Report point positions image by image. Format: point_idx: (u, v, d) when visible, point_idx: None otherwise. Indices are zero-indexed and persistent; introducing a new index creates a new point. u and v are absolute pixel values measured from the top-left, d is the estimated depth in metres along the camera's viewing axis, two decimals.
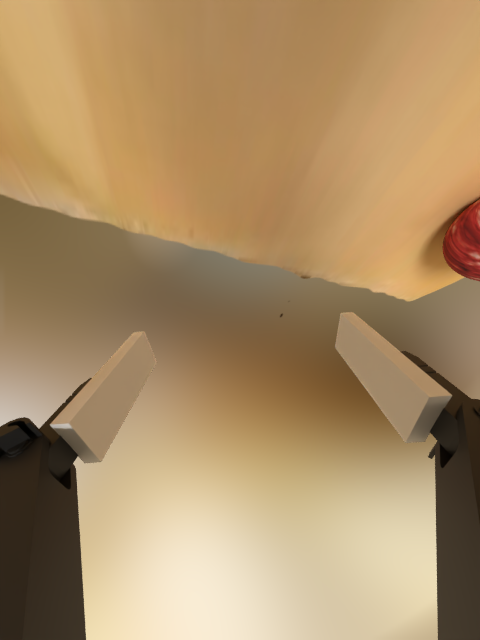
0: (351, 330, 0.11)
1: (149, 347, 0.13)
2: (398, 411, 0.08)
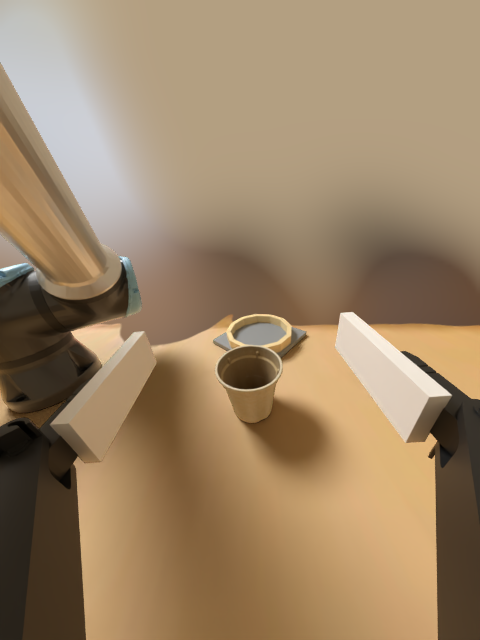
0: (351, 330, 0.11)
1: (149, 347, 0.13)
2: (398, 411, 0.08)
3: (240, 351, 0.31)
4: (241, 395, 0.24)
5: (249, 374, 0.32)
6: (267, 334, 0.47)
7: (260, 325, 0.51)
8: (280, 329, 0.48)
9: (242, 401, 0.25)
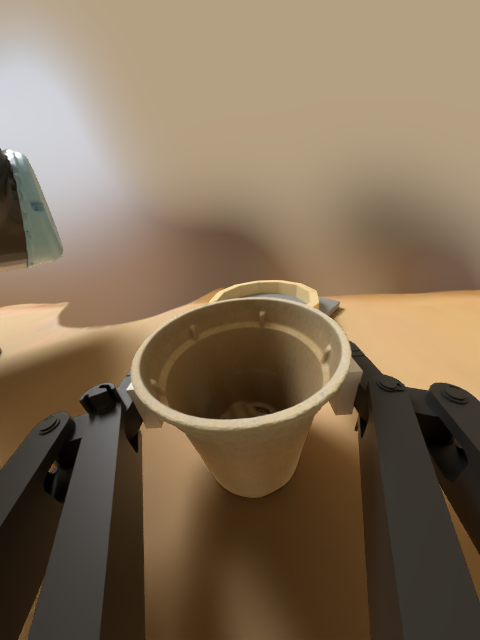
0: None
1: None
2: None
3: (223, 312, 0.13)
4: (207, 438, 0.06)
5: (244, 366, 0.14)
6: None
7: (264, 296, 0.33)
8: (297, 300, 0.30)
9: (218, 453, 0.07)
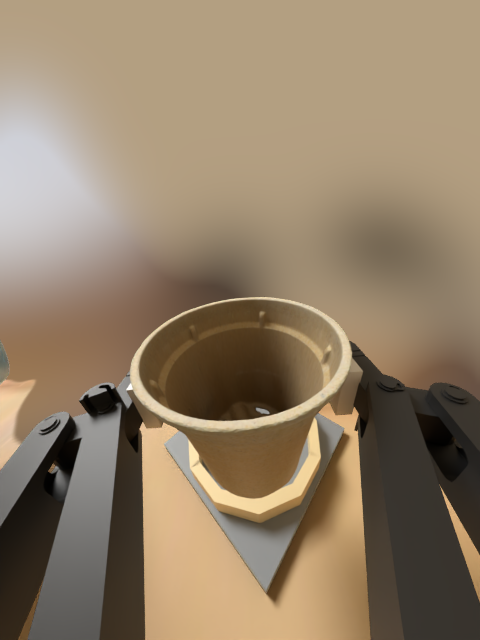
0: None
1: None
2: None
3: (223, 312, 0.13)
4: (206, 439, 0.06)
5: (244, 367, 0.14)
6: None
7: None
8: None
9: (217, 454, 0.07)
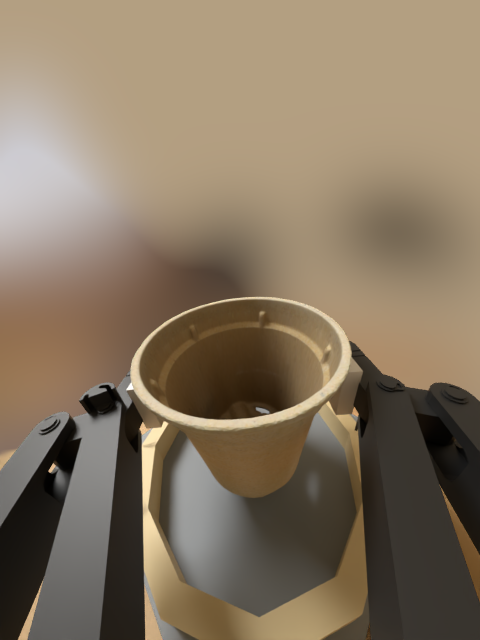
0: None
1: None
2: None
3: (223, 312, 0.13)
4: (207, 438, 0.06)
5: (244, 367, 0.14)
6: None
7: None
8: (319, 425, 0.16)
9: (217, 453, 0.07)
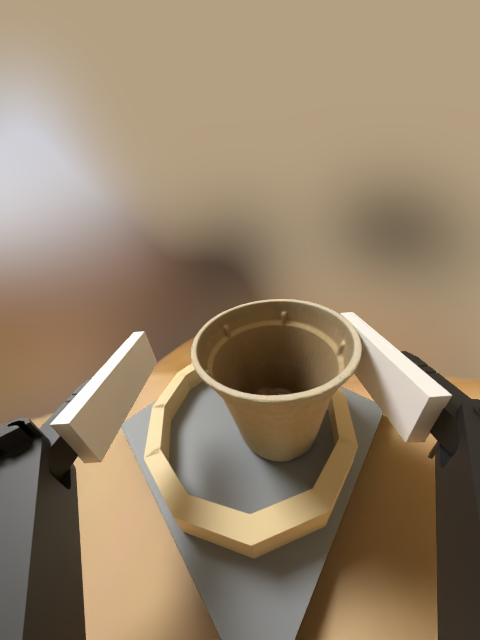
0: None
1: (149, 347, 0.13)
2: (398, 411, 0.08)
3: (250, 312, 0.16)
4: (255, 410, 0.09)
5: (268, 358, 0.17)
6: None
7: None
8: None
9: (259, 423, 0.10)
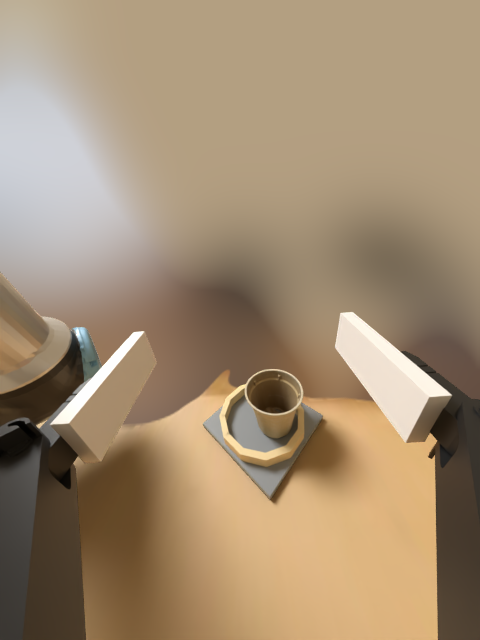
0: (351, 330, 0.11)
1: (149, 347, 0.13)
2: (398, 411, 0.08)
3: (264, 374, 0.36)
4: (268, 417, 0.29)
5: (271, 393, 0.37)
6: None
7: None
8: None
9: (269, 422, 0.30)
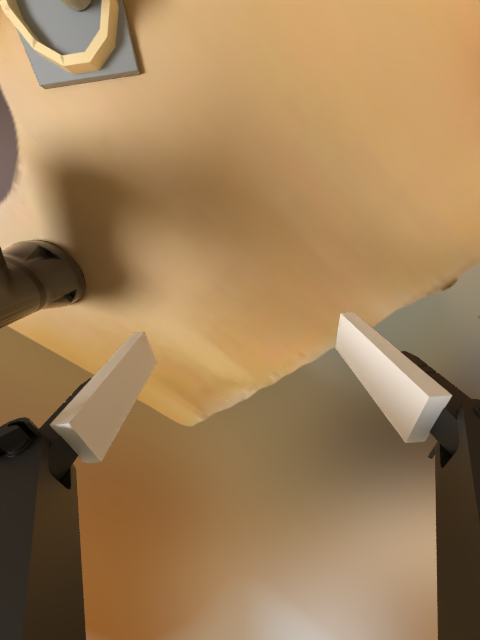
0: (351, 330, 0.11)
1: (149, 347, 0.13)
2: (398, 411, 0.08)
3: None
4: None
5: None
6: None
7: None
8: None
9: None
